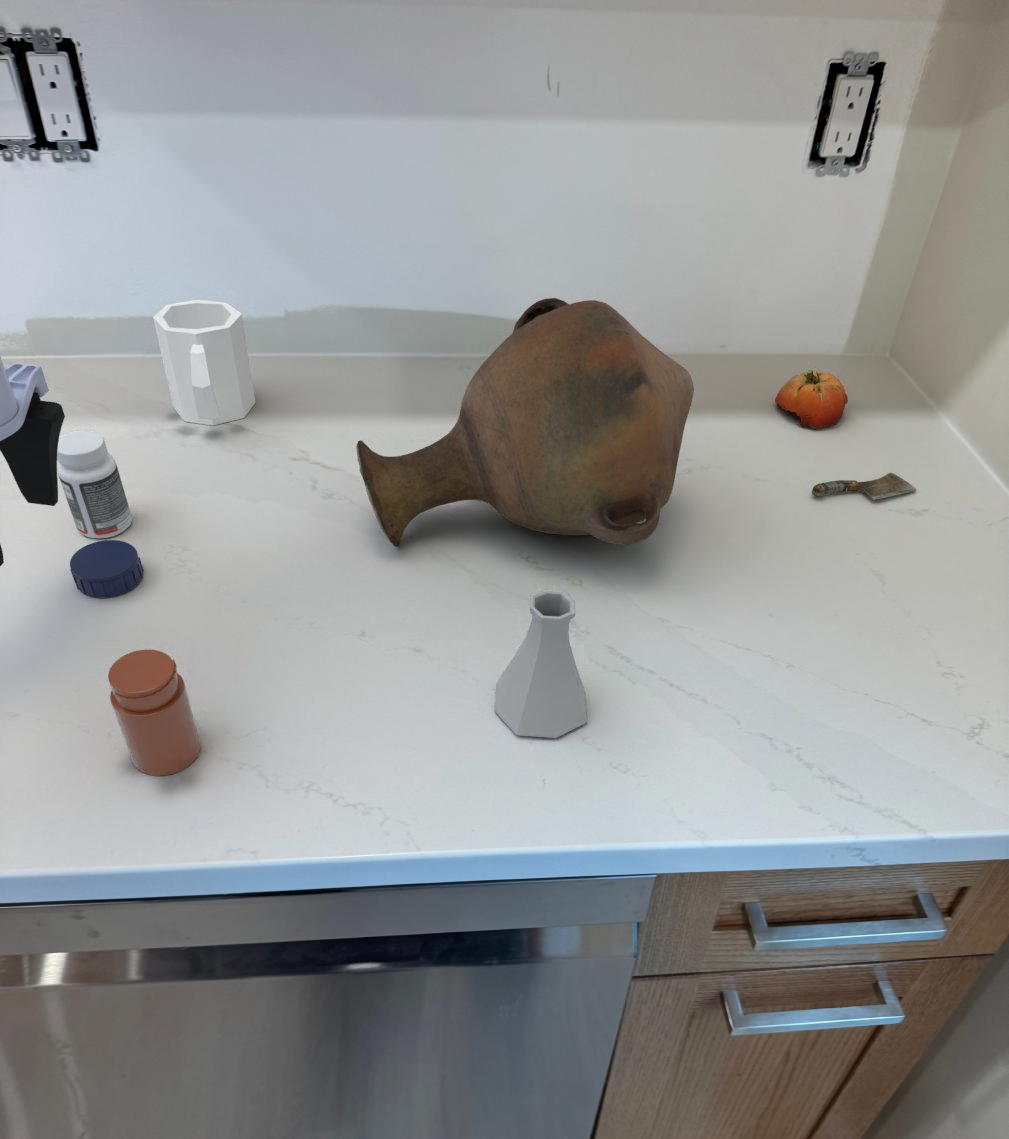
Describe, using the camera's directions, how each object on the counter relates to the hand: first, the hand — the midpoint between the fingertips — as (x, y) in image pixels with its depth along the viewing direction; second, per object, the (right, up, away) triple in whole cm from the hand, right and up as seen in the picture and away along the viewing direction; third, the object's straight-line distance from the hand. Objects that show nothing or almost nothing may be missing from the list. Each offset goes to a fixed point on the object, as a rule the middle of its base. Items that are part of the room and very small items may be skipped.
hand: (16, 531), depth 64 cm
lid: (+2, -1, +10) cm, 10 cm away
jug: (+36, +4, +21) cm, 42 cm away
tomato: (+70, +20, +40) cm, 83 cm away
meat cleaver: (+71, +9, +28) cm, 77 cm away
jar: (+11, -15, -1) cm, 19 cm away
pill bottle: (-1, +3, +17) cm, 17 cm away
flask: (+37, -13, +4) cm, 40 cm away
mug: (+4, +17, +32) cm, 36 cm away
